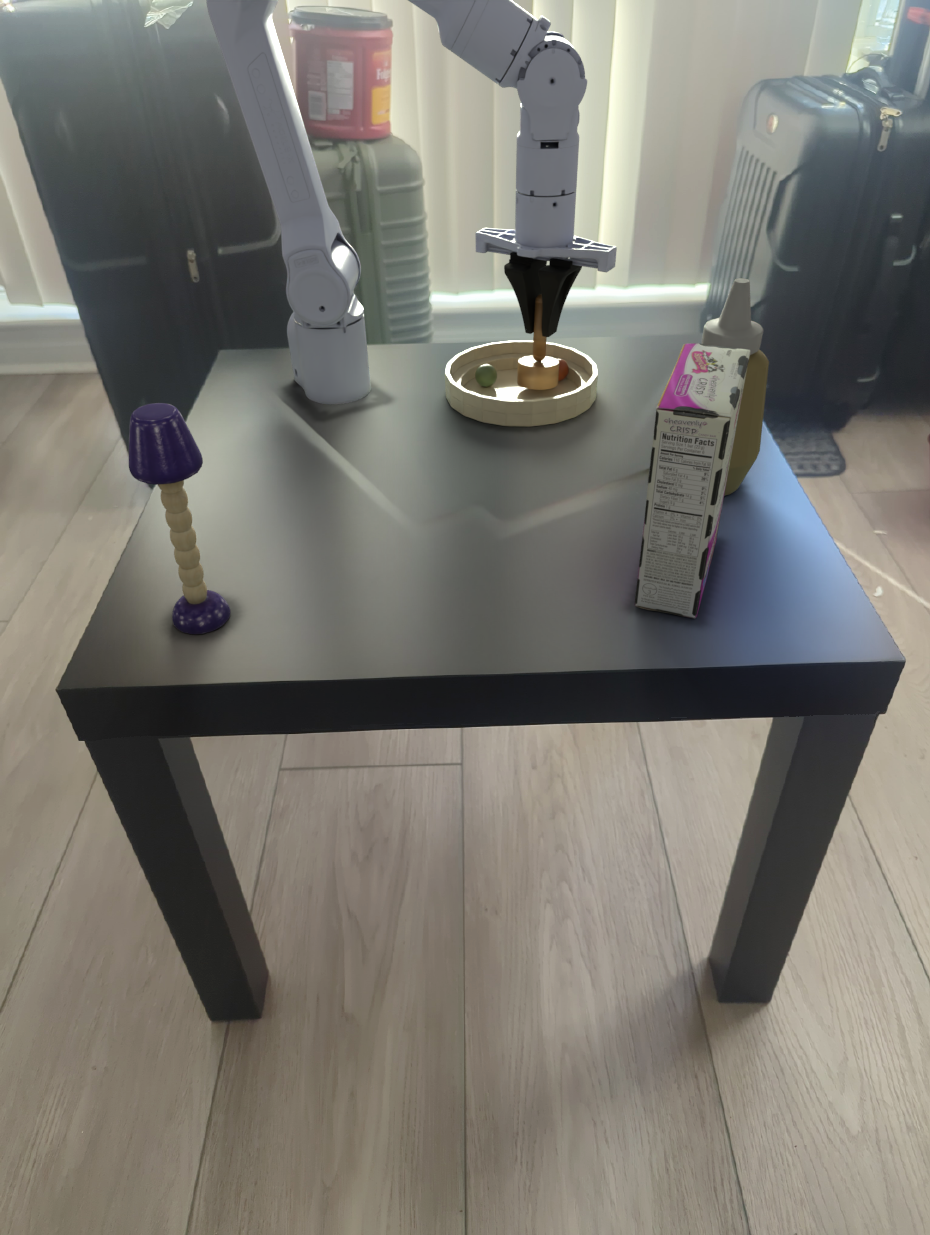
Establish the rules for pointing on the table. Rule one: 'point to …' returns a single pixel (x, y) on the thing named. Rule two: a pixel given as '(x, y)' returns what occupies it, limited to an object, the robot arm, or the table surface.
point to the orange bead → (562, 369)
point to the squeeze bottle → (745, 334)
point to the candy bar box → (689, 476)
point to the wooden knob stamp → (538, 359)
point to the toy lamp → (176, 507)
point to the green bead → (486, 375)
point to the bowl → (511, 400)
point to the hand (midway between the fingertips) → (540, 332)
